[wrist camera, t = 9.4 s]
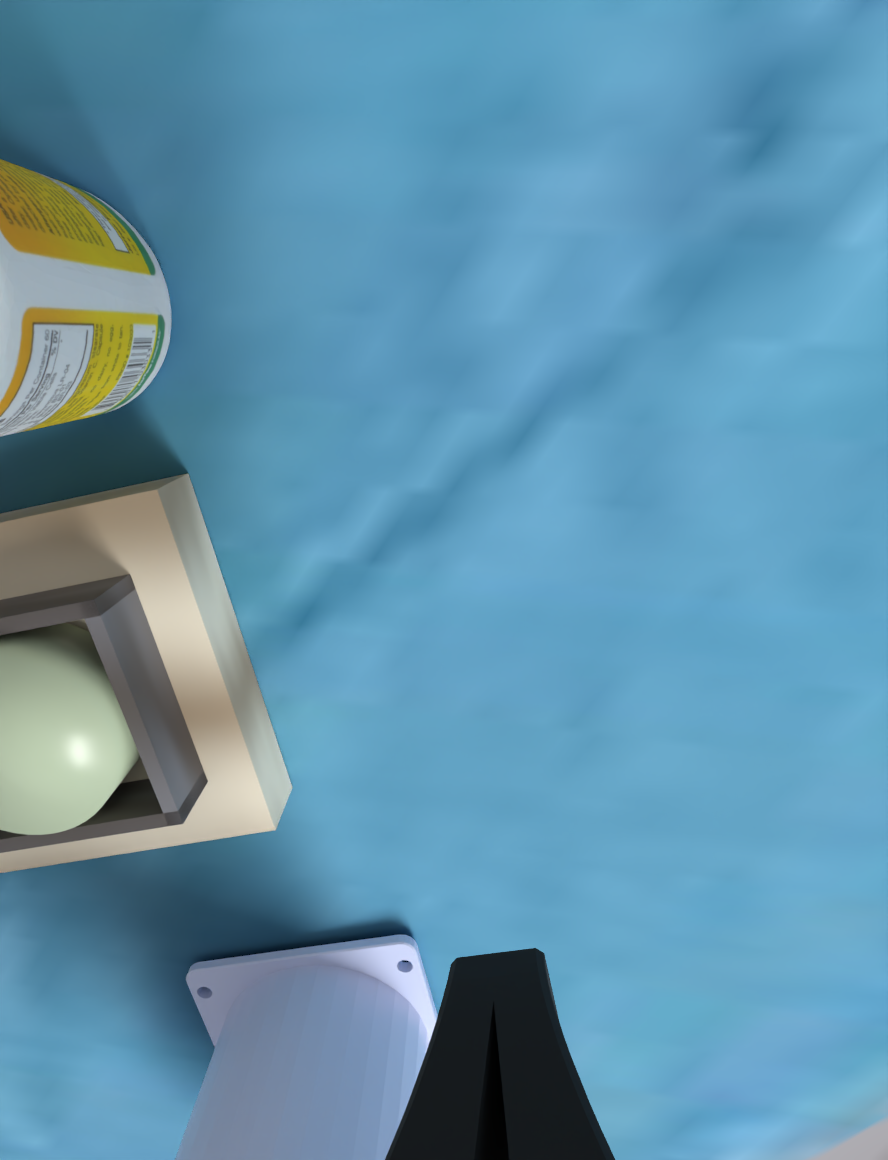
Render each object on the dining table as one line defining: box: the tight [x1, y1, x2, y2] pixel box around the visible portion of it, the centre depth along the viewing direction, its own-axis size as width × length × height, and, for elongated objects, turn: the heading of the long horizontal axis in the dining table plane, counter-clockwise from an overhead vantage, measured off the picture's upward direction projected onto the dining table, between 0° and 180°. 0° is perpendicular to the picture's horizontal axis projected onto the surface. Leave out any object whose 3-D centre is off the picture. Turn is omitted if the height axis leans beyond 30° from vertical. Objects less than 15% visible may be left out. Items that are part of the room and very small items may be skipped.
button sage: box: [0, 623, 140, 835], centre depth 18 cm, size 5×5×2 cm
